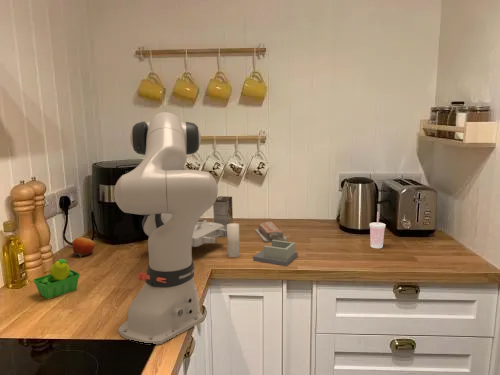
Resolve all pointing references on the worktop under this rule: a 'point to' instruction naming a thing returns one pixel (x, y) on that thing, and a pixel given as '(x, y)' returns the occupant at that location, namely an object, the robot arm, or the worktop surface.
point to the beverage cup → (377, 233)
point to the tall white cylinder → (233, 239)
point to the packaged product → (270, 232)
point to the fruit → (83, 246)
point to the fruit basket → (57, 280)
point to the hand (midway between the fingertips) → (222, 236)
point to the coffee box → (223, 211)
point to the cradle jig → (277, 253)
